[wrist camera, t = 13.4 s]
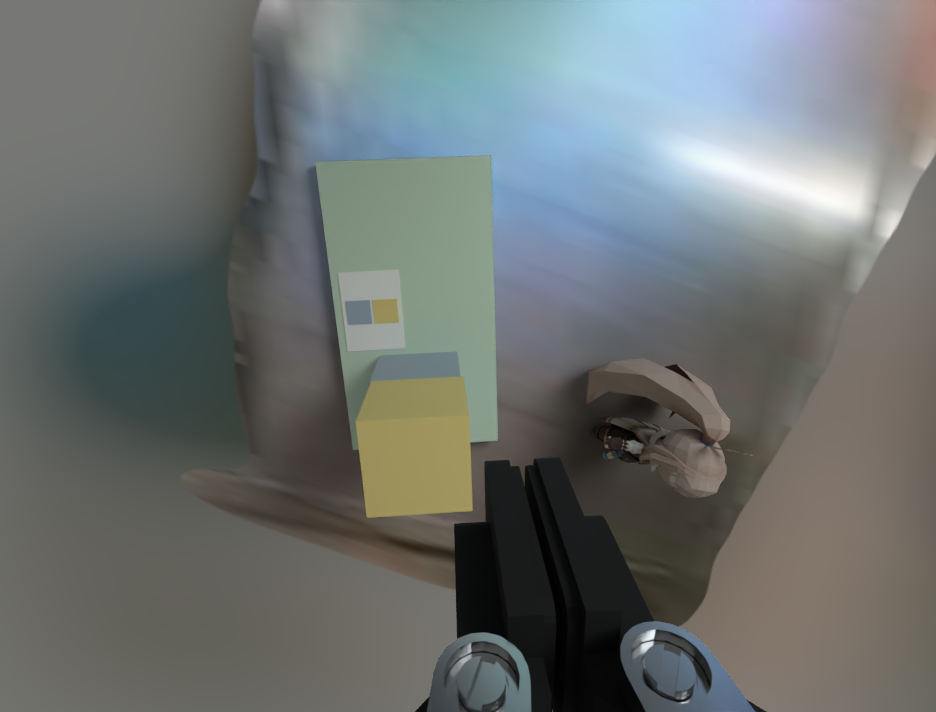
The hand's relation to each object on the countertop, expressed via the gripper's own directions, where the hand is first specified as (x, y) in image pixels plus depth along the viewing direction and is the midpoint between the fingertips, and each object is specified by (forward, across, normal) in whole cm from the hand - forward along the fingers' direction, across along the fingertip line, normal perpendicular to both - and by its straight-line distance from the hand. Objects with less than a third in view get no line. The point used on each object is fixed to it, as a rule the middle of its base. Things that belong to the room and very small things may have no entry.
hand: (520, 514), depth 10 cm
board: (+27, +4, +2) cm, 27 cm away
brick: (+19, +4, +8) cm, 21 cm away
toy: (+27, -13, +10) cm, 32 cm away
